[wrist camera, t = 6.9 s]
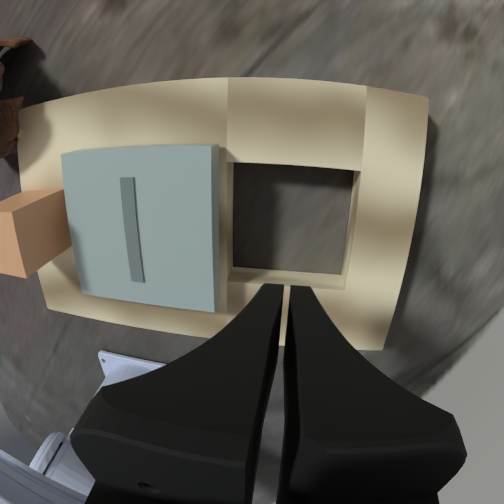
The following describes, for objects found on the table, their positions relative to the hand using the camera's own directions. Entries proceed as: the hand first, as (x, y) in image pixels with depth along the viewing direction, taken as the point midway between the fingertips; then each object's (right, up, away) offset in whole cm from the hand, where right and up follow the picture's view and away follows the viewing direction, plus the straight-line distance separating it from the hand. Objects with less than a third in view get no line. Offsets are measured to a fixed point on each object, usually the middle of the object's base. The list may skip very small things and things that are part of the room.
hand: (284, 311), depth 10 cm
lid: (-7, +4, +8) cm, 11 cm away
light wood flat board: (-5, +4, +10) cm, 12 cm away
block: (-15, +4, +9) cm, 18 cm away
